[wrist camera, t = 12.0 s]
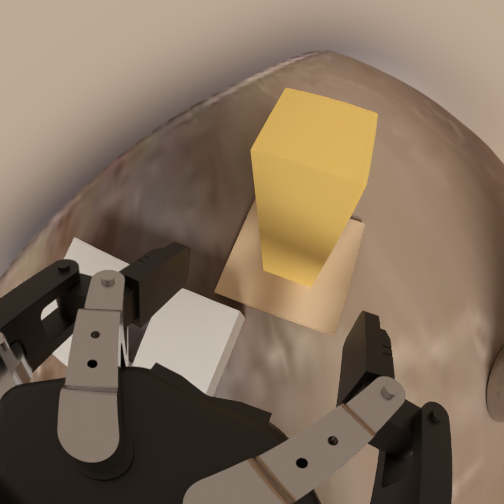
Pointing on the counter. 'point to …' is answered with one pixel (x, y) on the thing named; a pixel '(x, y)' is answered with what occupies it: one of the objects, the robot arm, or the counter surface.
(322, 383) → the counter surface
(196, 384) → the white rectangular block
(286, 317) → the mat
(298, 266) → the yellow block
